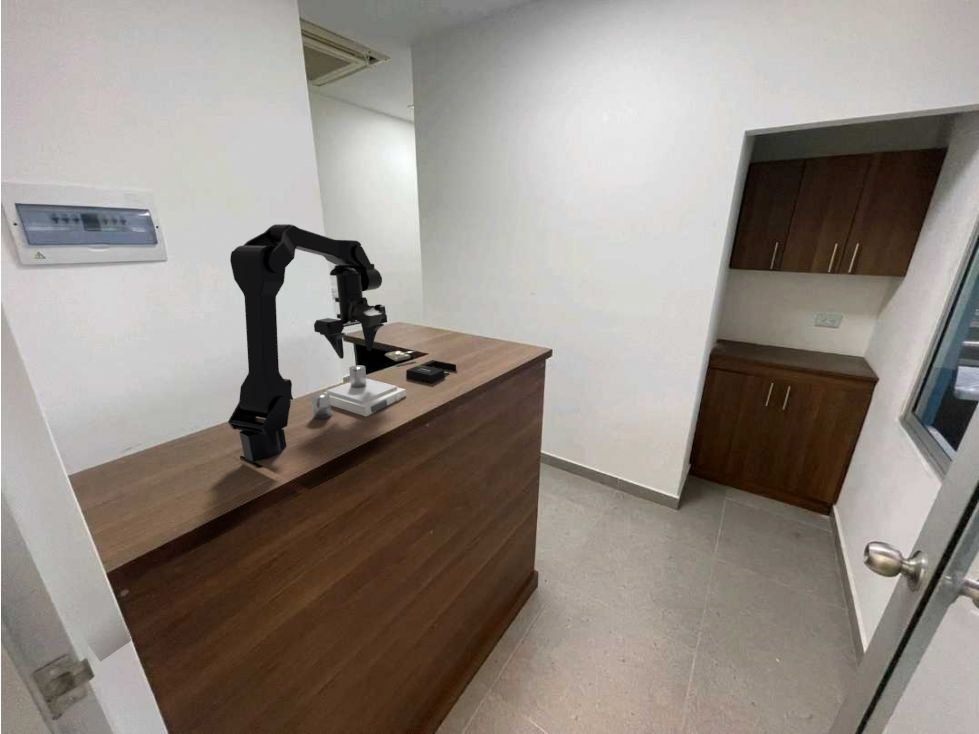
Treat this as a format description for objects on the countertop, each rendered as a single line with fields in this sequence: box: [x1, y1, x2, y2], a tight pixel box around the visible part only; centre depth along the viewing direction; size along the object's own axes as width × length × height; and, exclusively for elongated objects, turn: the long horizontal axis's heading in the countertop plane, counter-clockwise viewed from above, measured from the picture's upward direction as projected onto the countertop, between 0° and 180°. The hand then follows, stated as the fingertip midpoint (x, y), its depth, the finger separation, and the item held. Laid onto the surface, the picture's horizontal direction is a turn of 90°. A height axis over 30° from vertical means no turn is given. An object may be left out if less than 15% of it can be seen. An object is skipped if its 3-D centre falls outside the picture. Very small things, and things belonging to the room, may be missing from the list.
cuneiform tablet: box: [384, 350, 417, 362], centre depth 133 cm, size 7×4×12 cm
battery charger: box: [405, 359, 458, 385], centre depth 117 cm, size 13×10×4 cm
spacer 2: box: [348, 365, 367, 388], centre depth 101 cm, size 4×4×5 cm
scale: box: [323, 377, 407, 417], centre depth 100 cm, size 14×16×3 cm
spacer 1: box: [310, 392, 333, 420], centre depth 90 cm, size 4×4×5 cm
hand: (356, 354), depth 99 cm, fingers open, 9 cm apart
